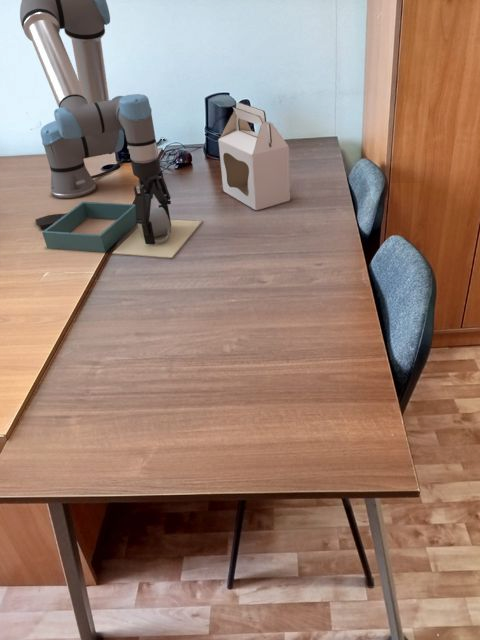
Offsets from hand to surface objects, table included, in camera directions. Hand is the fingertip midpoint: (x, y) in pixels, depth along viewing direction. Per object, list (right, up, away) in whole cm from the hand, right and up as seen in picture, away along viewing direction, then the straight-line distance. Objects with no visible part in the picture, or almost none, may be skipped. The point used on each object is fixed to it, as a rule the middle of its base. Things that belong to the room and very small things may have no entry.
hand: (158, 234), depth 155 cm
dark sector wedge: (-35, +7, +14) cm, 38 cm away
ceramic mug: (0, -1, 0) cm, 1 cm away
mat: (0, -1, +1) cm, 1 cm away
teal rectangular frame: (-20, +2, +5) cm, 21 cm away
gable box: (+28, +18, +23) cm, 40 cm away
